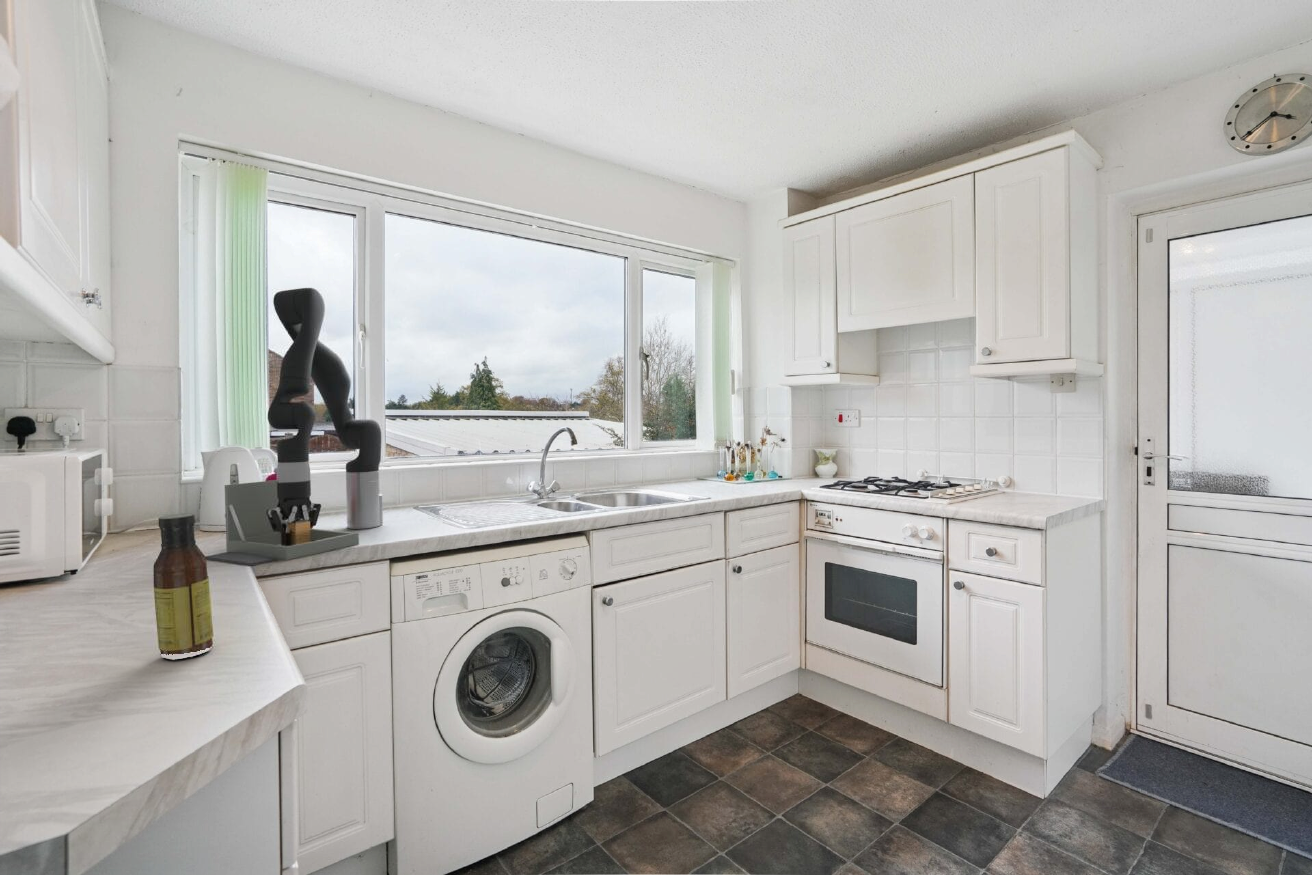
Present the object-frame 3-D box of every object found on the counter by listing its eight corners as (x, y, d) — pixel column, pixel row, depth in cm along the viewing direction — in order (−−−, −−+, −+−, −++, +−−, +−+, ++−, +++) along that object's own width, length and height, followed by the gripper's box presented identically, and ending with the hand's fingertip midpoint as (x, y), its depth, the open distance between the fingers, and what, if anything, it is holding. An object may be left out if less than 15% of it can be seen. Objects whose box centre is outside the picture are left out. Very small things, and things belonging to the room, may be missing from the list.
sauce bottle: (206, 642, 92) (201, 509, 92) (220, 652, 88) (215, 513, 88) (150, 656, 87) (145, 515, 87) (162, 667, 83) (157, 519, 83)
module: (295, 545, 164) (294, 518, 164) (310, 547, 162) (310, 519, 161) (280, 548, 160) (279, 520, 160) (296, 550, 158) (295, 521, 158)
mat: (230, 553, 155) (230, 551, 155) (277, 560, 147) (277, 557, 147) (204, 559, 149) (203, 556, 149) (251, 565, 142) (251, 563, 142)
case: (301, 538, 175) (299, 477, 175) (358, 544, 165) (357, 480, 165) (226, 552, 157) (224, 485, 156) (286, 560, 147) (284, 488, 147)
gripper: (309, 476, 168) (311, 539, 169) (257, 481, 156) (258, 549, 156) (328, 477, 165) (330, 541, 166) (276, 482, 152) (278, 552, 153)
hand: (295, 545), depth 161 cm, fingers closed on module, 4 cm apart
